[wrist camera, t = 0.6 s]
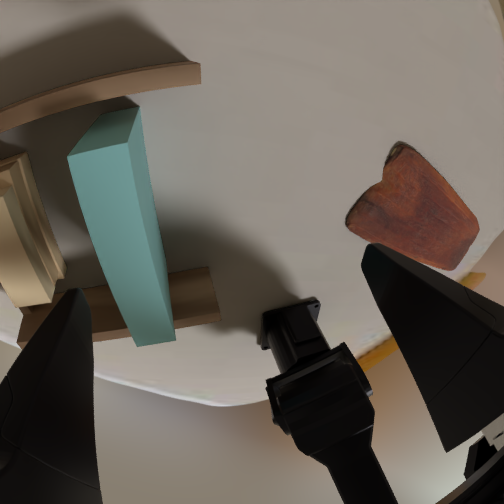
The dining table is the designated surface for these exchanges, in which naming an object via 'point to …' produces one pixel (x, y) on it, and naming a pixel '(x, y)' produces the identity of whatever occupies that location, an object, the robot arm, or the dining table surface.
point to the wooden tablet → (415, 213)
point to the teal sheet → (124, 222)
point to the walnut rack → (101, 298)
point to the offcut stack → (26, 237)
